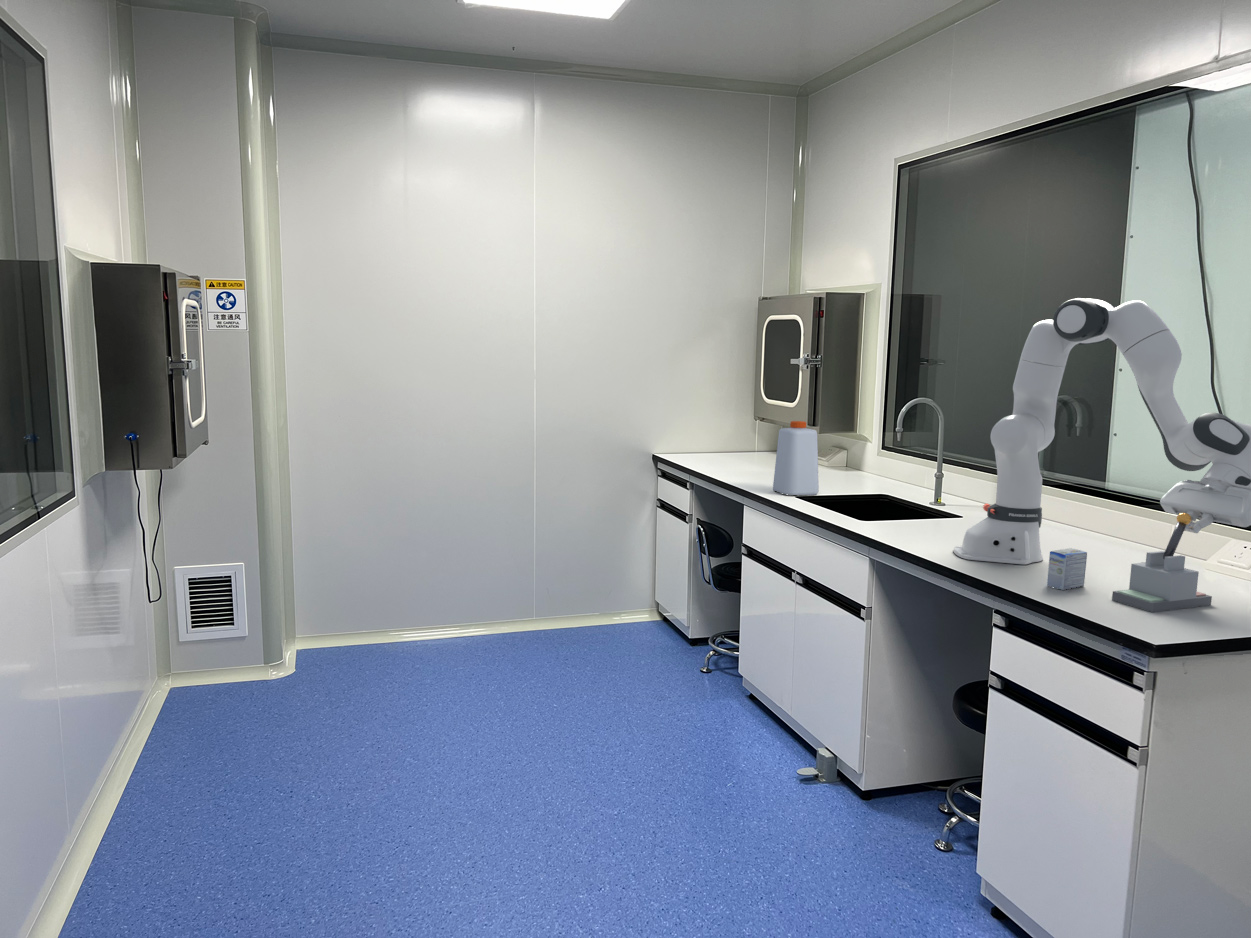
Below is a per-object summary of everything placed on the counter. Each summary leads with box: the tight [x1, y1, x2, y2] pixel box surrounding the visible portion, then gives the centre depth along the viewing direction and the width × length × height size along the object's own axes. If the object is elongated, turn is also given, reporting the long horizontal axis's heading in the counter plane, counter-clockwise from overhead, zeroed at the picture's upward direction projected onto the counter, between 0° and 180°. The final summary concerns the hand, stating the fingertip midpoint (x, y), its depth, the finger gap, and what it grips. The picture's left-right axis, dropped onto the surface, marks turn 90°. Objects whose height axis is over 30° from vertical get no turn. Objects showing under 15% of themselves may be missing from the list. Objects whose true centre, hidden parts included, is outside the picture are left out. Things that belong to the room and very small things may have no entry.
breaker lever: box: [1163, 513, 1191, 560], centre depth 196 cm, size 3×3×12 cm
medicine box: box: [1046, 547, 1088, 591], centre depth 209 cm, size 8×4×9 cm, turn 118°
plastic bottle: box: [772, 420, 820, 496], centre depth 341 cm, size 15×15×28 cm
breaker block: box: [1111, 550, 1213, 613], centre depth 196 cm, size 18×10×11 cm, turn 111°
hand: (1189, 530), depth 197 cm, fingers closed
